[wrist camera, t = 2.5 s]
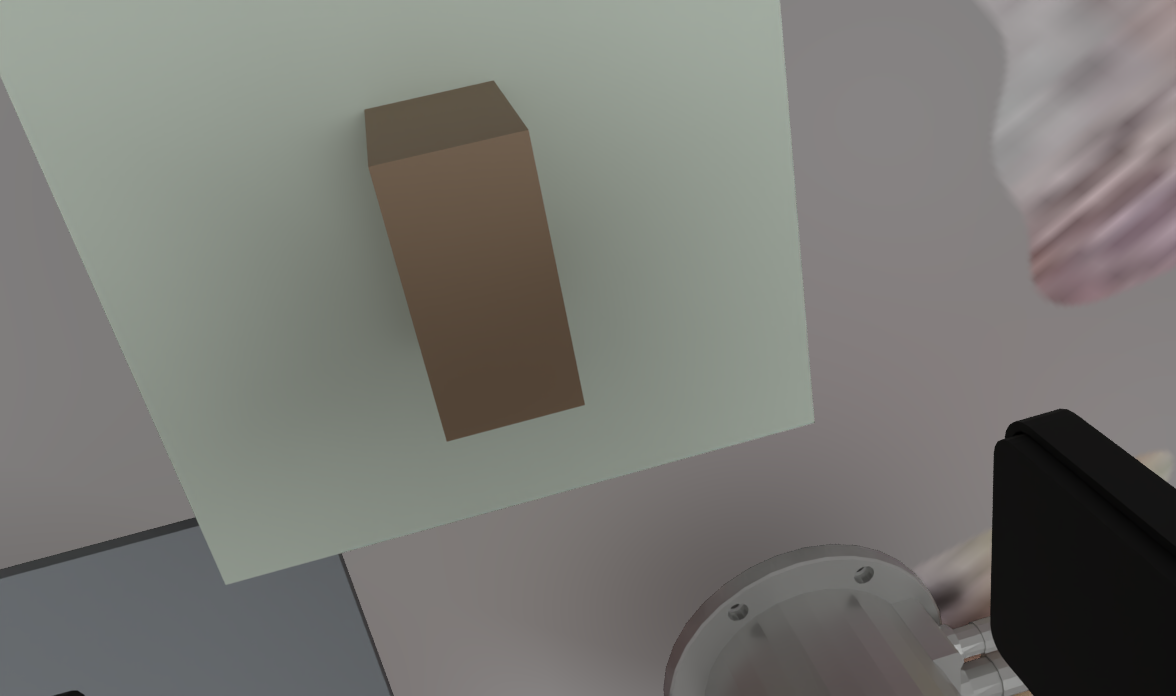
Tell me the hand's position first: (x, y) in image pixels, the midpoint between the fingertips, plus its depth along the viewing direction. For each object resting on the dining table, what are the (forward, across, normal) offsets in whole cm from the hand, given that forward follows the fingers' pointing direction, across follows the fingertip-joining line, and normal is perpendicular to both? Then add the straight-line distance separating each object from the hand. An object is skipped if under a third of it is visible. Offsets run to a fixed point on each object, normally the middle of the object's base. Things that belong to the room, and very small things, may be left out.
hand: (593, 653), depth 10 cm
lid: (+16, 0, 0) cm, 16 cm away
